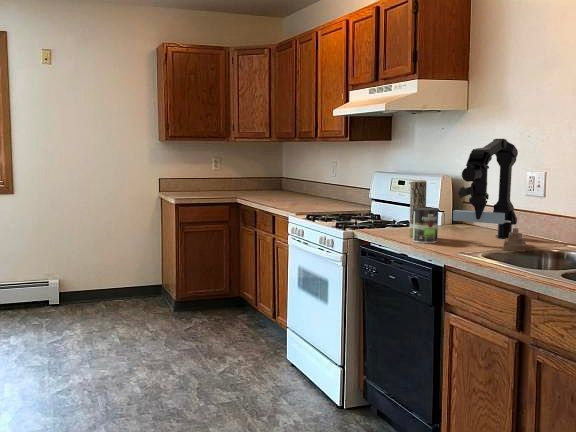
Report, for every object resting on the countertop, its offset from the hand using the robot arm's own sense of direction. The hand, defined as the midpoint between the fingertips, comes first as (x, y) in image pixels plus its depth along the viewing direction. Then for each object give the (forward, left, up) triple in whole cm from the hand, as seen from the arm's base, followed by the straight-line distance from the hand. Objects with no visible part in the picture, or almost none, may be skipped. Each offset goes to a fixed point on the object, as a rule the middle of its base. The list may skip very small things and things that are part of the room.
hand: (478, 218), depth 256 cm
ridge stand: (+4, +14, -11) cm, 18 cm away
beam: (0, 0, -1) cm, 1 cm away
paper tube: (-19, -22, -11) cm, 31 cm away
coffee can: (-7, -20, -11) cm, 24 cm away
